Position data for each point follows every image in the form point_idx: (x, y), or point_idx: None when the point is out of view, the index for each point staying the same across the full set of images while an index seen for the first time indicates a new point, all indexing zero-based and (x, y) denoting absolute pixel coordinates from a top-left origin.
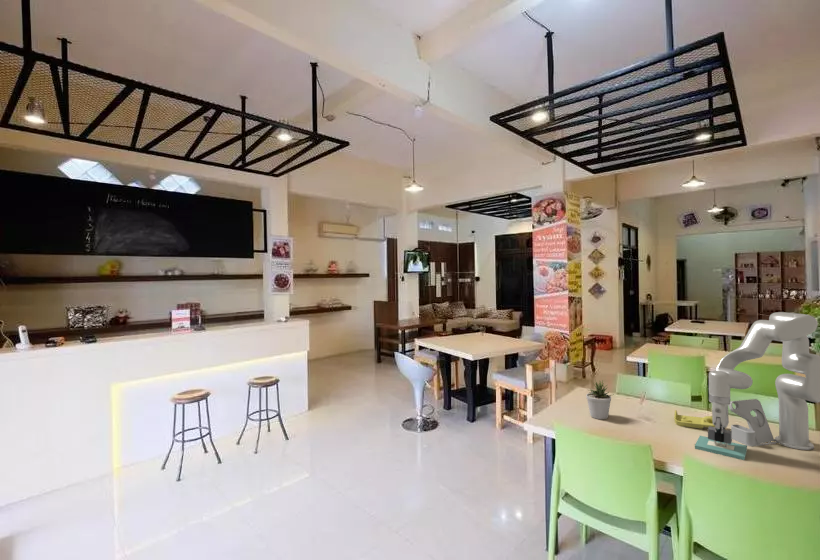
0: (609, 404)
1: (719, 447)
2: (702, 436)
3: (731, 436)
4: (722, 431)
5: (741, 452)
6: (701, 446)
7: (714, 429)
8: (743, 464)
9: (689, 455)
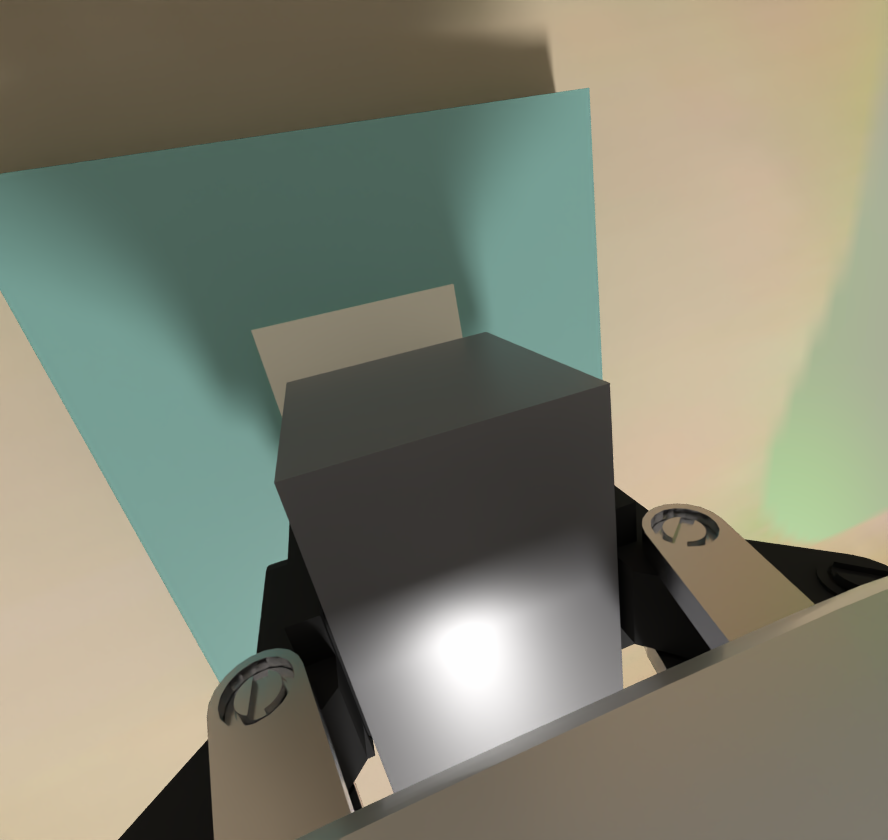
0: None
1: None
2: None
3: (377, 396)
4: (740, 540)
5: (444, 169)
6: None
7: (558, 708)
8: (691, 87)
9: (757, 514)
